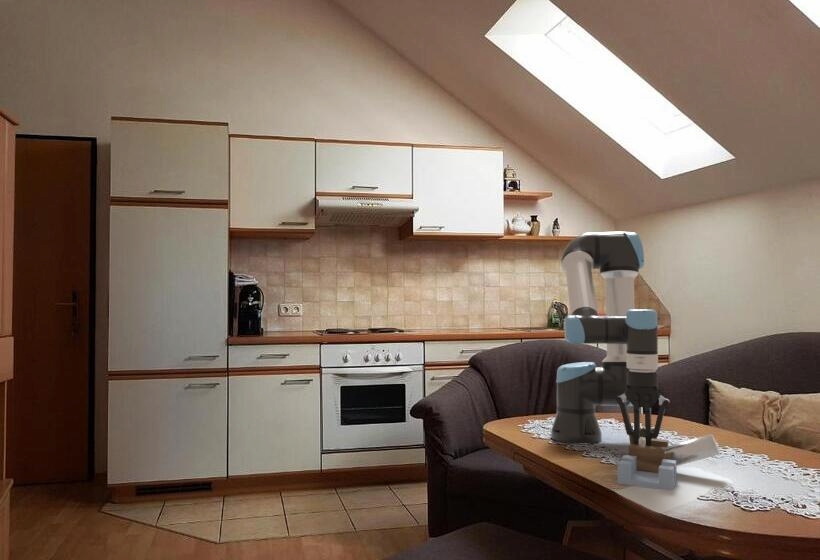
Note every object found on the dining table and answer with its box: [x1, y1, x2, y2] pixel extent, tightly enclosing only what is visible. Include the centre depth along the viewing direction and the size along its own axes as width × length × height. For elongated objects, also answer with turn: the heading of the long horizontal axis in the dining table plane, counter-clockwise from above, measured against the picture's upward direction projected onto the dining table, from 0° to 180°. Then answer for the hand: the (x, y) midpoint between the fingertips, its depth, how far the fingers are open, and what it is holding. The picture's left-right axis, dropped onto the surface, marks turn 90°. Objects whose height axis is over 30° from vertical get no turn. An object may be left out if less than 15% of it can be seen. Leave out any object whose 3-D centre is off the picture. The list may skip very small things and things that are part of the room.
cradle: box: [617, 454, 678, 491], centre depth 155 cm, size 9×12×5 cm
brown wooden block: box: [628, 438, 669, 473], centre depth 166 cm, size 12×8×7 cm
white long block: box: [665, 433, 721, 467], centre depth 162 cm, size 5×16×5 cm, turn 65°
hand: (643, 464), depth 166 cm, fingers closed
